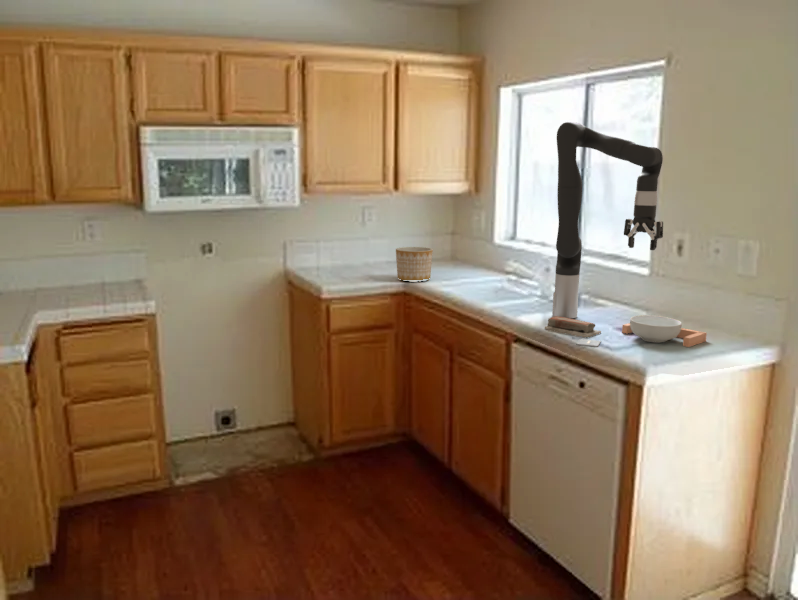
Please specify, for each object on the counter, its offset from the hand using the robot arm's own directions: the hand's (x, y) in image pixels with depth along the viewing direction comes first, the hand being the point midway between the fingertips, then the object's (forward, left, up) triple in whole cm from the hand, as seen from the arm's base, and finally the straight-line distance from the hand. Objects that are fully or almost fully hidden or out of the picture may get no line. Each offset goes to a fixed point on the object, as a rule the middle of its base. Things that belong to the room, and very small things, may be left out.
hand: (641, 248), depth 246 cm
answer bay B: (+10, -10, -30) cm, 33 cm away
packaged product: (-20, -15, -30) cm, 40 cm away
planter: (-118, +62, -30) cm, 137 cm away
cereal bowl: (+8, -15, -30) cm, 34 cm away
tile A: (-12, -30, -30) cm, 44 cm away
